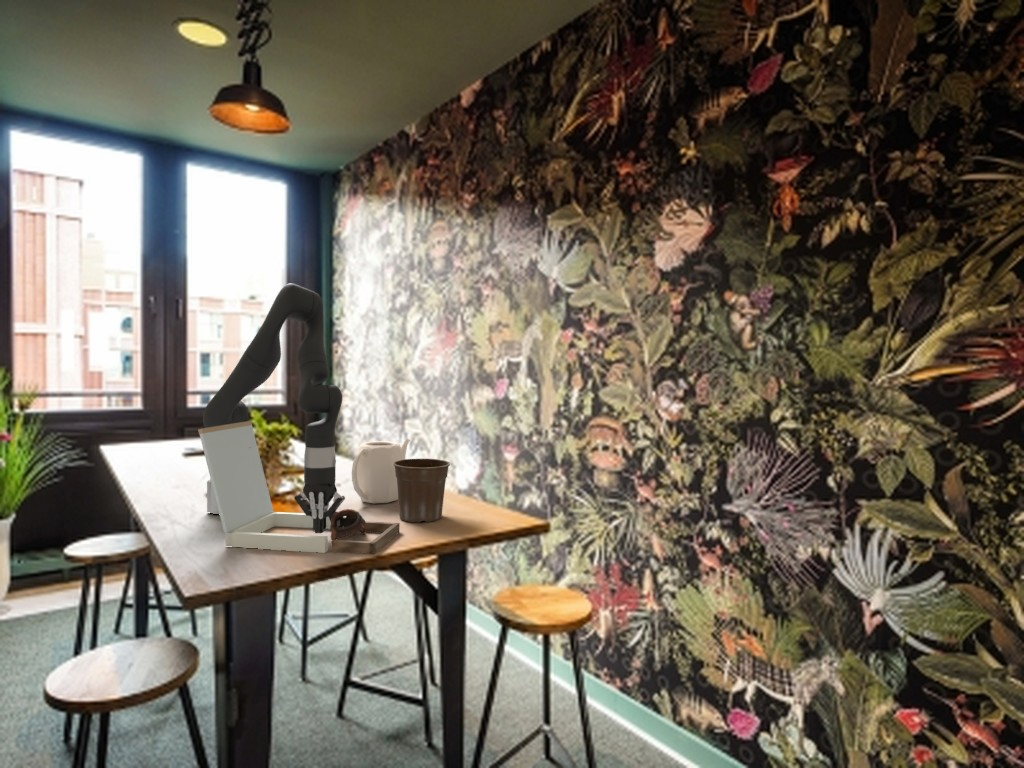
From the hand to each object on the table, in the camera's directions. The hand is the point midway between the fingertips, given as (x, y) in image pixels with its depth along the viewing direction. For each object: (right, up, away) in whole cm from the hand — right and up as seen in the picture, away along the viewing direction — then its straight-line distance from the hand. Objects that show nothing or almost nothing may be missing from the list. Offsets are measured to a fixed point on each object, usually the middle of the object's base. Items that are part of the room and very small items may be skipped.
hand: (319, 532), depth 151 cm
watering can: (+6, -1, +45) cm, 45 cm away
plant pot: (+22, -2, +23) cm, 32 cm away
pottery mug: (+6, -2, +2) cm, 7 cm away
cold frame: (-10, -2, +2) cm, 10 cm away
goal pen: (+12, -2, -1) cm, 12 cm away
